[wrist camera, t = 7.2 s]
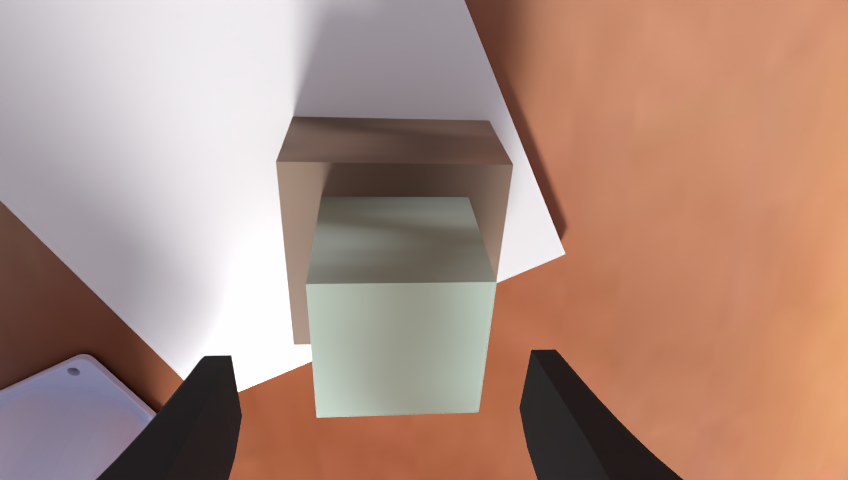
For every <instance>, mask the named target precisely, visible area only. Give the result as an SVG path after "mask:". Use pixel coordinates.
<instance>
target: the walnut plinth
mask: <svg viewBox="0 0 848 480" xmlns="http://www.w3.org/2000/svg"><path fill="white" fill-rule="evenodd" d="M276 168H277V178H278V189H279V199H280V209H281V220H282V230H283V240H284V251H285V261H286V271H287V282H288V292H289V302H290V313H291V323H292V333H293V344H294V345H311V342H310V329H309V317H308V305H307V293H306V280H307V274H308V269H309V263H310V257H311V251H312V246H313V240H314V234H315V228H316V223H317V217H318V211H319V205H320V199H321V197H469V200H470V203H471V206H472V209H473V212H474V215H475V218H476V221H477V224H478V227H479V230H480V233H481V236H482V239H483V242H484V245H485V248H486V251H487V254H488V257H489V260H490V263H491V266H492V269H493V272H494V275H495V278H496V281H497V274H498V267H499V260H500V254H501V247H502V240H503V233H504V226H505V219H506V212H507V205H508V198H509V191H510V184H511V177H512V170H513V163H512V162H511V160H510V158H509V156H508V154H507V152H506V151H505V149H504V147H503V145H502V143H501V142H500V140H499V138H498V136H497V134H496V132H495V131H494V129H493V127H492V125H491V123H490V121H485V120H438V119H391V118H343V117H296V116H293V117H292V120H291V123H290V125H289V128H288V131H287V133H286V136H285V139H284V141H283V144H282V147H281V149H280V152H279V155H278V157H277V160H276Z"/></svg>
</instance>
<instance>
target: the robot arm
mask: <svg viewBox="0 0 848 480" xmlns="http://www.w3.org/2000/svg"><path fill="white" fill-rule="evenodd" d="M74 368H76V369H74ZM77 369H78V370H77ZM520 413H521V418H522V423H523V429H524V434H525V438H526V443H527V448H528V451H529V454H530V457H531V460H532V463H533V466H534V470H535V473H536V476H537V479H538V480H683V479H682V478H681V477H679V476H678V475H677V474H676V473H675V472H673V471H672V470H671V469H670V468H669V467H668V466H666V465H665V464H664V463H663V462H662V461H660V460H659V459H658V458H657V457H656V456H655V455H654V454H653V453H651V452H650V451H649V450H648V449H647V448H646V447H645V446H644V445H643V444H642V443H641V442H640V441H639V440H638V439H637V438H636V437H635V436H634V435H633V434H632V433H631V432H630V431H629V430H628V429H627V428H626V427H625V426H624V425H623V424H622V423H621V422H620V421H619V420H618V419H617V418H616V417H615V416H614V415H613V414H612V413H611V412H610V411H609V410H608V408H607V407H606V406H605V405H604V404H603V403H602V402H601V401H600V400H599V399H598V398H597V397H596V395H595V394H594V393H593V392H592V391H591V390H590V389H589V388H588V386H587V385H586V384H585V383H584V382H583V381H582V380H581V378H580V377H579V376H578V375H577V374H576V373H575V371H574V370H573V369H572V368H571V367H570V365H569V364H568V363H567V362H566V361H565V360H564V358H563V357H562V356H561V355H560V354H559V353H558V352H557V351H556V350H531V355H530V360H529V365H528V370H527V375H526V379H525V384H524V389H523V394H522V399H521V404H520ZM241 418H242V414H241V408H240V402H239V396H238V391H237V385H236V379H235V373H234V367H233V361H232V355H213V356H204V357H203V358H202V359H200V361H199V362H198V363H197V365H196V366H195V367H194V369H193V370H192V371H191V372H190V374H189V375H188V376H187V378H186V379H185V380H184V381H183V383H182V384H181V385H180V386H179V388H178V389H177V390H176V391H175V393H174V394H173V395H172V396H171V398H170V399H169V400H168V401H167V403H166V404H165V405H164V406H163V407H162V408H161V410H160V411H159V412H158V413H157V414H156V413H155V412H154V411H153V410H152V409H151V408H150V407H149V406H148V405H146V404H145V403H144V402H143V401H142V400H141V399H140V398H139V397H137V396H136V395H135V394H134V393H133V392H132V391H131V390H130V389H128V388H127V387H126V386H125V385H124V384H123V383H122V382H121V381H120V380H118V379H117V378H116V377H115V376H114V375H113V374H112V373H111V372H109V371H108V370H107V369H106V368H105V367H104V366H103V365H102V364H101V363H99V362H98V361H97V360H96V359H95V358H94V357H92V356H90V355H87V354H80V355H77V356H75V357H72V358H70V359H68V360H66V361H64V362H61V363H59V364H57V365H55V366H53V367H51V368H48V369H46V370H44V371H42V372H40V373H37V374H35V375H33V376H31V377H29V378H27V379H24V380H22V381H20V382H18V383H16V384H14V385H11V386H9V387H7V388H5V389H3V390H0V480H228V479H229V476H230V472H231V469H232V465H233V462H234V458H235V453H236V447H237V442H238V436H239V430H240V424H241Z"/></svg>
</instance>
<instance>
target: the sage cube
mask: <svg viewBox="0 0 848 480" xmlns="http://www.w3.org/2000/svg"><path fill="white" fill-rule="evenodd" d="M496 283H497V281H496V278H495V275H494V272H493V269H492V266H491V263H490V260H489V257H488V254H487V251H486V248H485V245H484V242H483V239H482V236H481V233H480V230H479V227H478V224H477V221H476V218H475V215H474V212H473V209H472V206H471V203H470V200H469V197H321V199H320V205H319V211H318V217H317V223H316V228H315V234H314V240H313V246H312V251H311V257H310V263H309V269H308V274H307V280H306V293H307V305H308V317H309V329H310V342H311V354H312V366H313V379H314V391H315V403H316V415H317V418H321V417H351V416H381V415H411V414H441V413H471V412H479V406H480V398H481V391H482V384H483V377H484V370H485V363H486V355H487V348H488V341H489V334H490V327H491V319H492V312H493V305H494V298H495V291H496Z"/></svg>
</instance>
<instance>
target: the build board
mask: <svg viewBox="0 0 848 480" xmlns="http://www.w3.org/2000/svg"><path fill="white" fill-rule="evenodd" d="M293 116H296V117H343V118H391V119H438V120H485V121H490V123H491V125H492V127H493V129H494V131H495V132H496V134H497V136H498V138H499V140H500V142H501V143H502V145H503V147H504V149H505V151H506V152H507V154H508V156H509V158H510V160H511V162H512V163H513V170H512V177H511V184H510V191H509V198H508V205H507V212H506V219H505V226H504V233H503V240H502V247H501V254H500V260H499V267H498V274H497V283H498V282H500V281H503V280H505V279H508V278H510V277H512V276H515V275H517V274H519V273H522V272H524V271H527V270H529V269H531V268H534V267H536V266H538V265H541V264H543V263H546V262H548V261H550V260H553V259H555V258H557V257H560V256H562V255H565V252H564V249H563V247H562V244H561V242H560V239H559V237H558V234H557V232H556V229H555V227H554V224H553V222H552V219H551V217H550V214H549V212H548V209H547V207H546V204H545V202H544V199H543V197H542V194H541V192H540V189H539V187H538V184H537V182H536V179H535V176H534V174H533V171H532V169H531V166H530V164H529V161H528V159H527V156H526V154H525V151H524V149H523V146H522V144H521V141H520V139H519V136H518V134H517V131H516V129H515V126H514V124H513V121H512V119H511V116H510V114H509V111H508V109H507V106H506V103H505V101H504V98H503V96H502V93H501V91H500V88H499V86H498V83H497V81H496V78H495V76H494V73H493V71H492V68H491V66H490V63H489V61H488V58H487V56H486V53H485V51H484V48H483V46H482V43H481V41H480V38H479V36H478V33H477V30H476V28H475V25H474V23H473V20H472V18H471V15H470V13H469V10H468V8H467V5H466V3H465V0H0V201H1V202H2V203H3V204H4V205H5V206H6V207H7V208H8V209H9V210H10V211H11V212H12V213H13V214H14V215H16V216H17V217H18V218H19V219H20V220H21V221H22V222H23V223H24V224H25V225H26V226H27V227H28V228H29V229H30V230H31V231H32V232H33V233H34V234H35V235H36V236H37V237H38V238H39V239H40V240H41V241H42V242H43V243H44V244H45V245H46V246H47V247H48V248H49V249H50V250H51V251H52V252H53V253H54V254H55V255H56V256H58V257H59V258H60V259H61V260H62V261H63V262H64V263H65V264H66V265H67V266H68V267H69V268H70V269H71V270H72V271H73V272H74V273H75V274H76V275H77V276H78V277H79V278H80V279H81V280H82V281H83V282H84V283H85V284H86V285H87V286H88V287H89V288H90V289H91V290H92V291H93V292H94V293H95V294H96V295H97V296H98V297H99V298H101V299H102V300H103V301H104V302H105V303H106V304H107V305H108V306H109V307H110V308H111V309H112V310H113V311H114V312H115V313H116V314H117V315H118V316H119V317H120V318H121V319H122V320H123V321H124V322H125V323H126V324H127V325H128V326H129V327H130V328H131V329H132V330H133V331H134V332H135V333H136V334H137V335H138V336H139V337H140V338H141V339H143V340H144V341H145V342H146V343H147V344H148V345H149V346H150V347H151V348H152V349H153V350H154V351H155V352H156V353H157V354H158V355H159V356H160V357H161V358H162V359H163V360H164V361H165V362H166V363H167V364H168V365H169V366H170V367H171V368H172V369H173V370H174V371H175V372H176V373H177V374H178V375H179V376H180V377H181V378H182V379H183V380H185V379H186V378H187V376H188V375H189V374H190V372H191V371H192V370H193V369H194V367H195V366H196V365H197V363H198V362H199V361H200V359H202V358H203V357H204V356H213V355H232V361H233V367H234V373H235V379H236V385H237V391H238V392H239V391H242V390H244V389H247V388H249V387H251V386H254V385H256V384H258V383H261V382H263V381H266V380H268V379H270V378H273V377H275V376H277V375H280V374H282V373H285V372H287V371H289V370H292V369H294V368H296V367H299V366H301V365H303V364H306V363H308V362H311V361H312V354H311V345H294V344H293V333H292V323H291V313H290V302H289V292H288V282H287V271H286V261H285V251H284V240H283V230H282V220H281V209H280V199H279V189H278V178H277V168H276V160H277V157H278V155H279V152H280V149H281V147H282V144H283V141H284V139H285V136H286V133H287V131H288V128H289V125H290V123H291V120H292V117H293Z"/></svg>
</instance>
